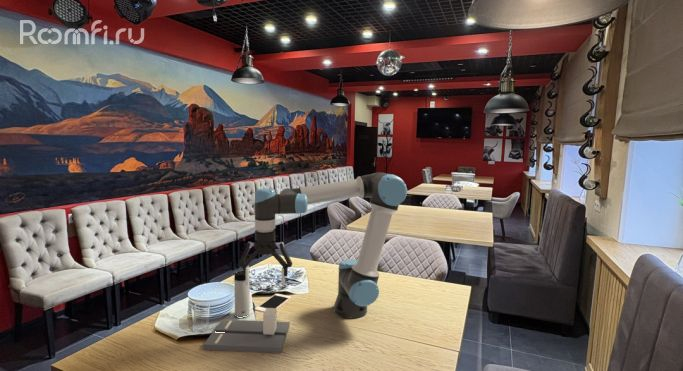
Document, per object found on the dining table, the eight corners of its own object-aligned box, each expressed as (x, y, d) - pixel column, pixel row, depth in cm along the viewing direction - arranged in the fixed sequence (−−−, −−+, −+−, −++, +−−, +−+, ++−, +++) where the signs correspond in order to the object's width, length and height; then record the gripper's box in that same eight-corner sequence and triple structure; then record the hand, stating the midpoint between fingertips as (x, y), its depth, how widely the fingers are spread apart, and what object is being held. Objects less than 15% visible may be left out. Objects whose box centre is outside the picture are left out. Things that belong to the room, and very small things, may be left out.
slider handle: (276, 332, 136) (276, 308, 135) (273, 339, 131) (273, 314, 130) (266, 332, 136) (266, 307, 135) (263, 339, 131) (263, 314, 130)
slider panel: (289, 326, 142) (289, 321, 142) (280, 352, 124) (280, 347, 124) (222, 324, 143) (222, 319, 143) (203, 349, 125) (203, 344, 125)
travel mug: (246, 319, 147) (245, 274, 145) (232, 317, 148) (231, 272, 146) (252, 312, 153) (252, 269, 151) (239, 310, 154) (238, 267, 152)
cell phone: (254, 310, 156) (254, 308, 156) (276, 295, 172) (276, 293, 172) (271, 314, 152) (271, 312, 152) (291, 298, 169) (291, 296, 169)
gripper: (299, 227, 134) (299, 280, 136) (234, 226, 133) (235, 279, 136) (297, 232, 126) (297, 288, 129) (228, 231, 126) (229, 287, 128)
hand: (265, 284), depth 132 cm, fingers open, 13 cm apart
